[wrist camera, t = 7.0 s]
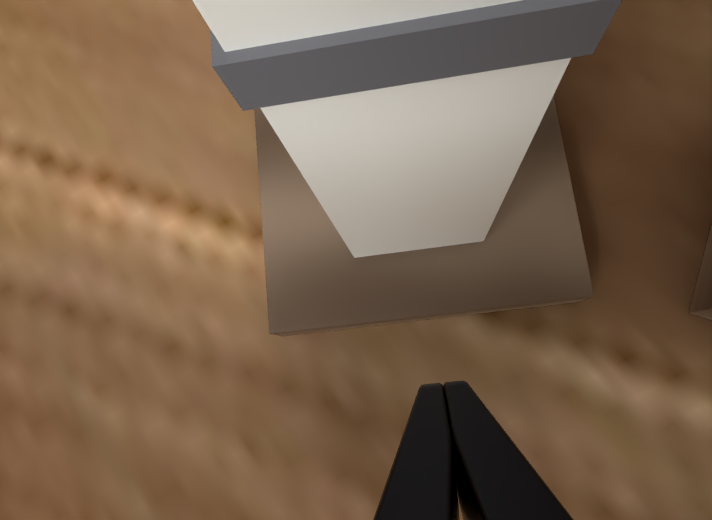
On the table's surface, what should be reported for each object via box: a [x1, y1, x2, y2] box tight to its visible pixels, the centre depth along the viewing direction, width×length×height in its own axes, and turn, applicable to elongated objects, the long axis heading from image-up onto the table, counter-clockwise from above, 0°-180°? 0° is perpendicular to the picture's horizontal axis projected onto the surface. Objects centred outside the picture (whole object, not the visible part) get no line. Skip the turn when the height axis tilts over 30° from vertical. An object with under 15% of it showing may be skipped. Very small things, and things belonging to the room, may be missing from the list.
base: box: [254, 95, 594, 336], centre depth 17 cm, size 12×10×4 cm
